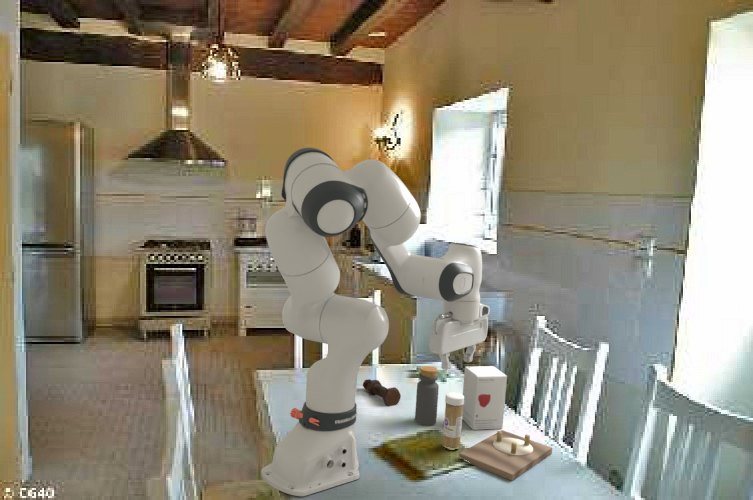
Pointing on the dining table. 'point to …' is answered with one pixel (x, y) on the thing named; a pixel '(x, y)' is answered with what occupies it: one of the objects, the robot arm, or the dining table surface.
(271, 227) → the robot arm
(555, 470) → the dining table surface
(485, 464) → the pin board
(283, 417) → the dining table surface
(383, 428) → the dining table surface
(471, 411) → the supplement box
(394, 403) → the bolt
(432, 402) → the bottle
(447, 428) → the sprinkles bottle
